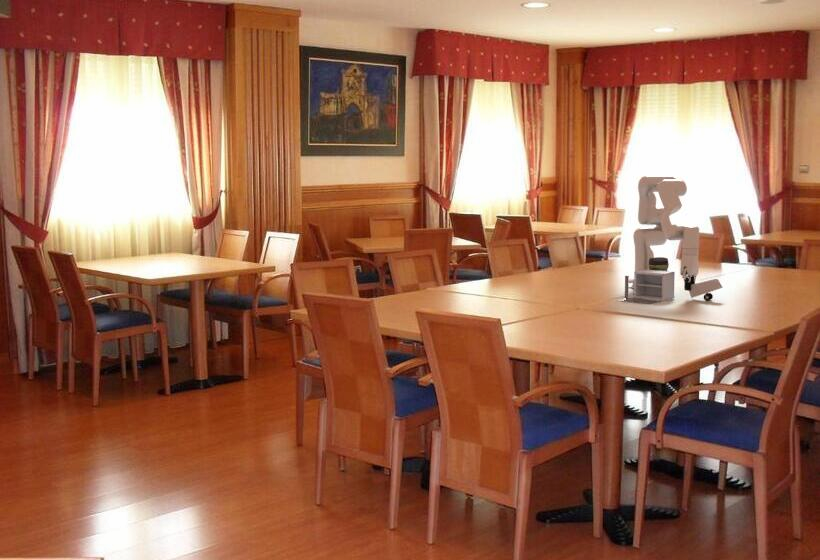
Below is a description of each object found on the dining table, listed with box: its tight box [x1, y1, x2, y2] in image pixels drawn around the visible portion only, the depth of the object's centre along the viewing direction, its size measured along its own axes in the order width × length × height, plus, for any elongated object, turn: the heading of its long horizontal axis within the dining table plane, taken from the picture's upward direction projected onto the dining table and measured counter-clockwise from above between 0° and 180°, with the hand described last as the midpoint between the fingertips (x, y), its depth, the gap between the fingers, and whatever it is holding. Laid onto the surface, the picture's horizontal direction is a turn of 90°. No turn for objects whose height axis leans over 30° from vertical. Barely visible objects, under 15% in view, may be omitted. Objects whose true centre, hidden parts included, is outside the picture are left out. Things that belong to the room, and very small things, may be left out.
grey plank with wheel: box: [688, 278, 724, 302], centre depth 468 cm, size 4×10×15 cm
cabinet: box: [633, 270, 675, 302], centre depth 477 cm, size 16×10×13 cm, turn 47°
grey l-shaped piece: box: [624, 275, 662, 305], centre depth 468 cm, size 18×11×11 cm, turn 47°
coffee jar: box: [648, 256, 670, 271], centre depth 489 cm, size 10×8×19 cm
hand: (689, 289), depth 472 cm, fingers closed on grey plank with wheel, 3 cm apart
